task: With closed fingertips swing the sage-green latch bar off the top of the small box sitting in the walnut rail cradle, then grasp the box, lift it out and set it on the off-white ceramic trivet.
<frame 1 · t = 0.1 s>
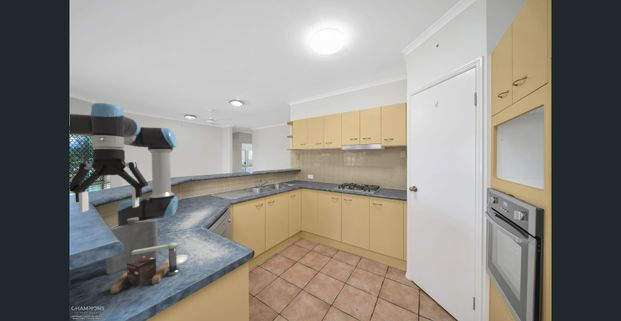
hand: (111, 209, 63), 28 cm above the worktop, fingers open, 13 cm apart
trivet: (175, 261, 79), on the worktop
latch bar: (155, 248, 69), point 11 cm above the worktop, hinge at 0.0°
latch post: (173, 272, 71), on the worktop
hip flask: (134, 264, 78), on the worktop
box: (142, 280, 68), on the worktop
cradle: (142, 279, 68), on the worktop
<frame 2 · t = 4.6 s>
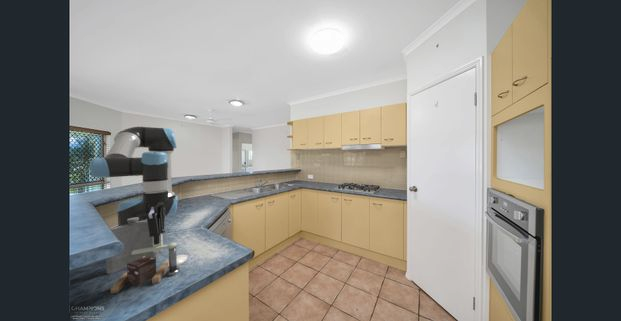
hand: (158, 251, 70), 9 cm above the worktop, fingers closed
latch bar: (155, 248, 69), point 11 cm above the worktop, hinge at 0.4°, touching gripper
everything else where it was.
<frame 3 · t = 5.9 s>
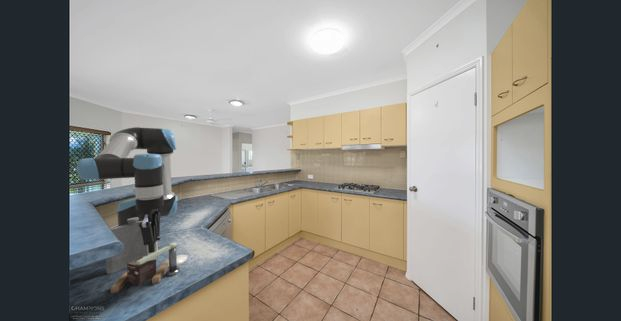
hand: (153, 259, 66), 8 cm above the worktop, fingers closed
latch bar: (158, 252, 66), point 11 cm above the worktop, hinge at 55.3°, touching gripper
everything else where it was.
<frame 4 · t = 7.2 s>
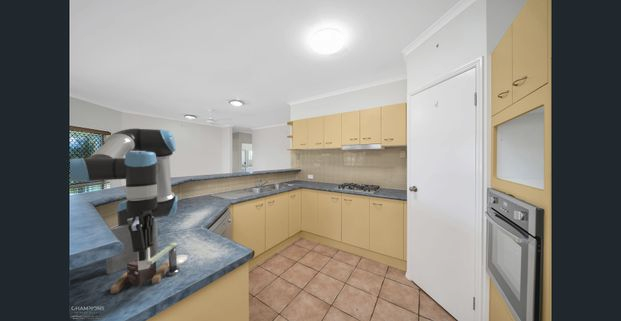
hand: (144, 268, 60), 9 cm above the worktop, fingers closed
latch bar: (163, 252, 66), point 11 cm above the worktop, hinge at 73.6°, touching gripper
everything else where it was.
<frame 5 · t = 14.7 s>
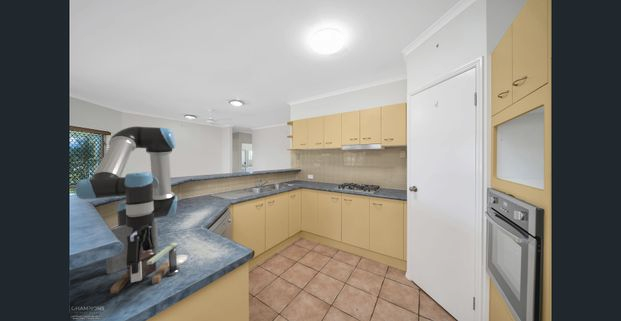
hand: (142, 273, 68), 2 cm above the worktop, fingers closed on box, 8 cm apart
latch bar: (163, 252, 66), point 11 cm above the worktop, hinge at 74.0°
box: (142, 274, 68), point 2 cm above the worktop, touching gripper
everything else where it was.
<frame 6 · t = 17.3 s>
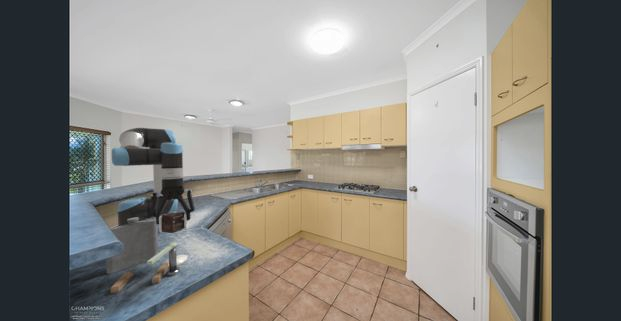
hand: (174, 229, 79), 14 cm above the worktop, fingers closed on box, 8 cm apart
box: (174, 230, 79), point 14 cm above the worktop, touching gripper
everything else where it was.
when the fingers open (2 cm above the worktop, at t = 19.9 s): box stays where it is, resting on trivet.
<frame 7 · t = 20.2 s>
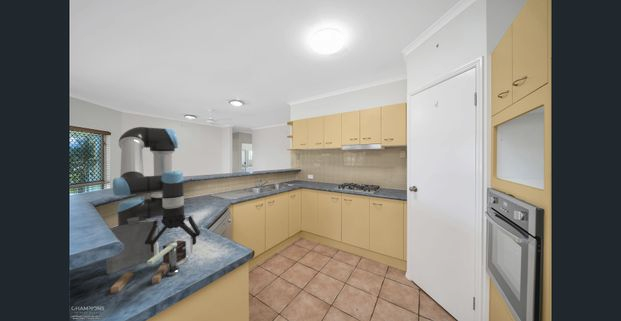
hand: (174, 255, 79), 3 cm above the worktop, fingers open, 12 cm apart
box: (175, 260, 79), point 1 cm above the worktop, touching trivet
everything else where it was.
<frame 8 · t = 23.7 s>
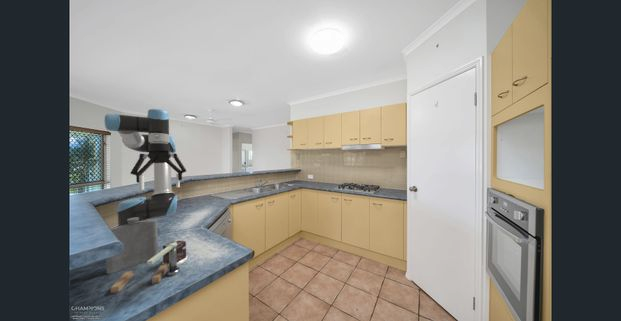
hand: (160, 188, 84), 32 cm above the worktop, fingers open, 13 cm apart
nothing on the worktop moved.
at the end: box inside the target area on the trivet (0.1 cm from its centre), point 0.6 cm above the trivet's base; box tilted 0°; latch bar at +74° (first picture: +0°) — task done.
